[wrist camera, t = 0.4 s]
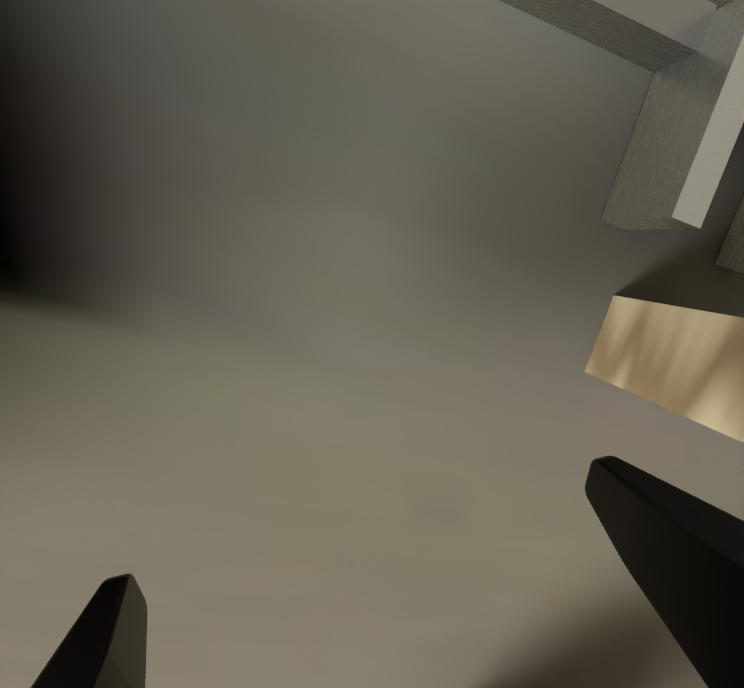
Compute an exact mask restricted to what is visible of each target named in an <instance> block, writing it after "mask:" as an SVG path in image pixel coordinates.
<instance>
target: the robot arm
mask: <svg viewBox="0 0 744 688" xmlns="http://www.w3.org/2000/svg"><path fill="white" fill-rule="evenodd" d="M585 492H586V495H587V498H588V500H589V502H590V504H591V505H592V507H593V509H594V511H595V513H596V514H597V516H598V518H599V520H600V522H601V523H602V525H603V527H604V529H605V531H606V532H607V534H608V536H609V538H610V540H611V541H612V543H613V545H614V547H615V549H616V551H617V552H618V554H619V556H620V558H621V559H622V561H623V563H624V564H625V566H626V567H627V569H628V570H629V572H630V574H631V575H632V577H633V578H634V580H635V581H636V582H637V584H638V585H639V587H640V588H641V590H642V591H643V593H644V594H645V596H646V597H647V599H648V600H649V602H650V603H651V604H652V606H653V607H654V609H655V610H656V612H657V613H658V615H659V616H660V618H661V619H662V621H663V622H664V623H665V625H666V626H667V628H668V629H669V631H670V632H671V634H672V635H673V637H674V638H675V640H676V641H677V642H678V644H679V645H680V647H681V648H682V650H683V651H684V653H685V654H686V656H687V657H688V659H689V660H690V661H691V663H692V664H693V666H694V667H695V669H696V670H697V672H698V673H699V675H700V676H701V678H702V679H703V681H704V682H705V683H706V685H707V686H708V688H744V521H743V520H741V519H739V518H737V517H735V516H733V515H731V514H729V513H727V512H725V511H723V510H721V509H719V508H717V507H715V506H713V505H711V504H709V503H707V502H705V501H703V500H701V499H699V498H697V497H695V496H693V495H691V494H689V493H687V492H685V491H683V490H681V489H679V488H677V487H675V486H673V485H671V484H669V483H667V482H665V481H663V480H661V479H659V478H657V477H655V476H653V475H651V474H649V473H647V472H645V471H643V470H641V469H639V468H637V467H635V466H633V465H631V464H629V463H627V462H625V461H623V460H621V459H619V458H617V457H615V456H605V457H601V458H597V459H594V460H593V461H592V462H591V465H590V469H589V472H588V476H587V480H586V484H585ZM146 642H147V605H146V601H145V598H144V596H143V594H142V592H141V590H140V588H139V586H138V584H137V582H136V580H135V578H134V577H133V575H131V574H123V575H119V576H115V577H111V578H108V579H106V580H105V581H104V582H103V583H102V584H101V585H100V587H99V588H98V590H97V591H96V592H95V594H94V595H93V597H92V598H91V600H90V601H89V603H88V604H87V606H86V607H85V609H84V610H83V612H82V613H81V615H80V616H79V617H78V619H77V620H76V622H75V623H74V625H73V626H72V628H71V629H70V631H69V632H68V634H67V635H66V637H65V638H64V640H63V641H62V642H61V644H60V645H59V647H58V648H57V650H56V651H55V653H54V654H53V656H52V657H51V659H50V660H49V662H48V663H47V665H46V666H45V667H44V669H43V670H42V672H41V673H40V675H39V676H38V678H37V679H36V681H35V682H34V684H33V685H32V687H31V688H145V676H146Z"/></svg>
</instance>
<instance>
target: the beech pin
mask: <svg viewBox="0 0 744 688" xmlns="http://www.w3.org/2000/svg"><path fill="white" fill-rule="evenodd" d="M584 372H587V373H589V374H591V375H593V376H595V377H598V378H600V379H602V380H604V381H607V382H609V383H611V384H613V385H615V386H618V387H620V388H622V389H624V390H627V391H629V392H631V393H633V394H636V395H638V396H640V397H642V398H644V399H647V400H649V401H651V402H653V403H656V404H658V405H660V406H662V407H665V408H667V409H669V410H671V411H673V412H676V413H678V414H680V415H682V416H685V417H687V418H689V419H691V420H693V421H696V422H698V423H700V424H702V425H705V426H707V427H709V428H711V429H714V430H716V431H718V432H720V433H722V434H725V435H727V436H729V437H731V438H734V439H736V440H738V441H740V442H743V443H744V318H742V317H736V316H730V315H725V314H719V313H713V312H707V311H702V310H696V309H690V308H684V307H679V306H673V305H667V304H661V303H655V302H650V301H644V300H638V299H632V298H627V297H621V296H615V295H613V298H612V301H611V303H610V306H609V308H608V311H607V313H606V316H605V319H604V321H603V324H602V326H601V329H600V332H599V334H598V337H597V339H596V342H595V345H594V347H593V350H592V352H591V355H590V357H589V360H588V363H587V365H586V368H585V370H584Z"/></svg>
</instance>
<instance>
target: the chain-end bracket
mask: <svg viewBox="0 0 744 688" xmlns="http://www.w3.org/2000/svg"><path fill="white" fill-rule="evenodd" d="M501 1H503V2H506V3H508V4H510V5H512V6H514V7H516V8H518V9H521V10H523V11H525V12H527V13H529V14H531V15H533V16H536V17H538V18H540V19H542V20H544V21H546V22H548V23H551V24H553V25H555V26H557V27H559V28H561V29H563V30H566V31H568V32H570V33H572V34H574V35H576V36H578V37H581V38H583V39H585V40H587V41H589V42H591V43H593V44H596V45H598V46H600V47H602V48H604V49H606V50H608V51H611V52H613V53H615V54H617V55H619V56H621V57H623V58H626V59H628V60H630V61H632V62H634V63H636V64H638V65H641V66H643V67H645V68H647V69H649V70H651V71H653V72H655V74H654V77H653V79H652V82H651V85H650V88H649V90H648V93H647V96H646V98H645V101H644V104H643V106H642V109H641V112H640V114H639V117H638V120H637V122H636V125H635V128H634V131H633V133H632V136H631V139H630V141H629V144H628V147H627V149H626V152H625V155H624V157H623V160H622V163H621V165H620V168H619V171H618V174H617V176H616V179H615V182H614V184H613V187H612V190H611V192H610V195H609V198H608V200H607V203H606V206H605V208H604V211H603V214H602V217H601V219H600V222H603V223H606V224H608V225H611V226H614V227H616V228H619V229H622V230H662V229H700V228H701V226H702V223H703V221H704V218H705V216H706V213H707V211H708V209H709V206H710V204H711V201H712V199H713V196H714V194H715V191H716V189H717V186H718V184H719V181H720V179H721V177H722V174H723V172H724V169H725V167H726V164H727V162H728V159H729V157H730V154H731V152H732V149H733V147H734V145H735V142H736V140H737V137H738V135H739V132H740V130H741V127H742V125H743V122H744V0H734V1H732V2H730V3H728V4H726V5H724V6H722V7H721V8H719V9H717V10H716V7H717V5H716V4H714V3H712V2H711V1H709V0H501ZM715 264H716V265H719V266H721V267H724V268H727V269H729V270H732V271H735V272H741V273H744V195H743V198H742V200H741V202H740V205H739V207H738V210H737V212H736V214H735V217H734V219H733V222H732V224H731V226H730V229H729V231H728V234H727V236H726V238H725V241H724V243H723V246H722V248H721V251H720V253H719V255H718V258H717V260H716V263H715Z"/></svg>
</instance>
